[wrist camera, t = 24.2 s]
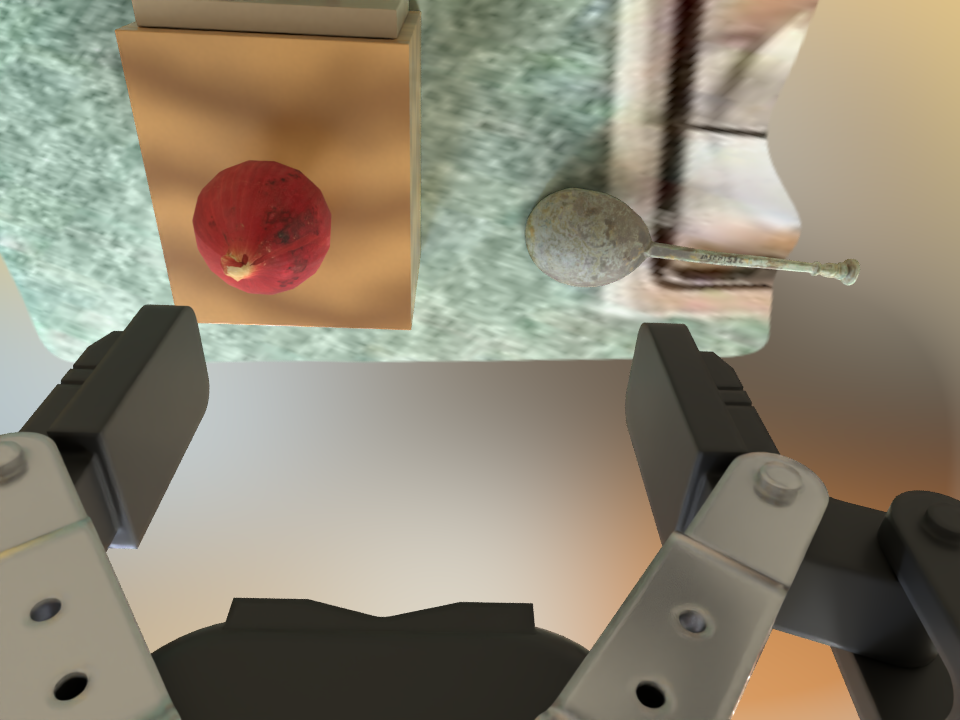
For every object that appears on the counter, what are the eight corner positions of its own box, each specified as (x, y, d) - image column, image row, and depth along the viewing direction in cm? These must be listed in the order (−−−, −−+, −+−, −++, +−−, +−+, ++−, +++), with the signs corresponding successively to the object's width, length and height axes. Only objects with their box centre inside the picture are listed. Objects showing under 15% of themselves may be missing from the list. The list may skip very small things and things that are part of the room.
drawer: (173, -122, 35) (106, -122, 28) (408, -108, 35) (394, -106, 29) (227, 220, 45) (187, 277, 38) (410, 227, 45) (401, 285, 38)
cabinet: (187, -1, 38) (114, 29, 30) (421, 10, 39) (409, 43, 31) (227, 247, 47) (178, 322, 39) (420, 254, 47) (411, 330, 39)
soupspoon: (536, 169, 45) (516, 261, 48) (537, 191, 42) (517, 286, 46) (870, 224, 46) (825, 309, 50) (893, 248, 43) (844, 336, 47)
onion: (310, 120, 33) (270, 182, 26) (361, 231, 36) (336, 311, 29) (198, 160, 34) (132, 229, 27) (257, 265, 37) (210, 350, 30)
